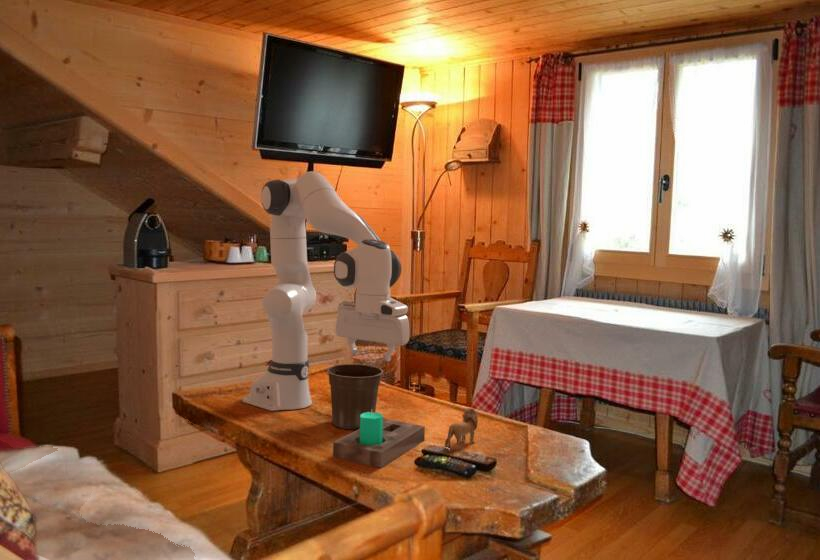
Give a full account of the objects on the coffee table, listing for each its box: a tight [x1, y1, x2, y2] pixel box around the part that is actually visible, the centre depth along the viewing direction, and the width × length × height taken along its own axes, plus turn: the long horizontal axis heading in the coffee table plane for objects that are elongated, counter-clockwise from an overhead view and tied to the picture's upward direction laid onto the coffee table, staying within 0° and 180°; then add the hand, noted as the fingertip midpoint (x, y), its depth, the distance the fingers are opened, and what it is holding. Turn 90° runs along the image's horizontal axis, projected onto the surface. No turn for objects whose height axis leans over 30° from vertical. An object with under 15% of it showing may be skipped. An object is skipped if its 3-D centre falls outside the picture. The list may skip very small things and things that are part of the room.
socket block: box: [332, 417, 426, 469], centre depth 183 cm, size 14×24×4 cm, turn 153°
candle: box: [359, 412, 384, 445], centre depth 178 cm, size 6×6×12 cm
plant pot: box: [326, 363, 384, 431], centre depth 202 cm, size 16×16×16 cm
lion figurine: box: [444, 407, 479, 450], centre depth 187 cm, size 15×5×9 cm, turn 151°
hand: (370, 358), depth 177 cm, fingers open, 8 cm apart
